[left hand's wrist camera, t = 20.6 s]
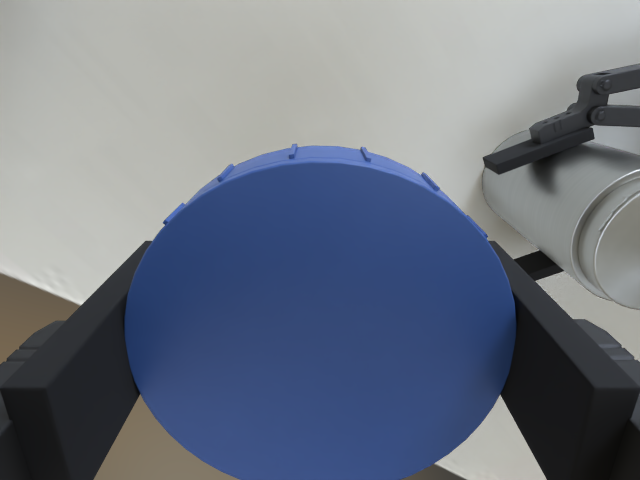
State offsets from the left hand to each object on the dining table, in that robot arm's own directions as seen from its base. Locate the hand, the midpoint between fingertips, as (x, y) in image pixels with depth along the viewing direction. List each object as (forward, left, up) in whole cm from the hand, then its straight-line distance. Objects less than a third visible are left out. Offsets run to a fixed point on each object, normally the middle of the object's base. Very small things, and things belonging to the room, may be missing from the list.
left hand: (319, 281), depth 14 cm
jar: (+14, +12, -26) cm, 32 cm away
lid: (0, 0, +3) cm, 3 cm away
